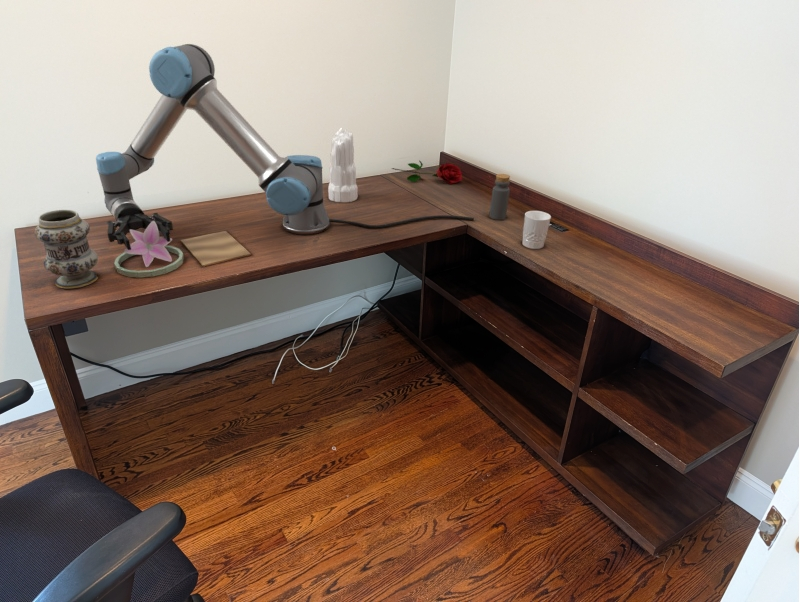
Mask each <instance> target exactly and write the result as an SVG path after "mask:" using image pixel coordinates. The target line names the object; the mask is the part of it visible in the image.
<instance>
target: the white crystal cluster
mask: <svg viewBox="0 0 800 602" xmlns="http://www.w3.org/2000/svg"><path fill="white" fill-rule="evenodd" d="M331 139H332V140H331V150H330V165H329V183H328V187H327V188H328V189H327V191H328V200H330V201H331V202H335V203H342V204H343V203H352V202H354V201H356V200H357V199H358V195H359V193H358V192H359V191H358V189H359V187H358V184H357V169H356V165H355V149H354V146H355V145H354V136H353V133H352V132H349V131H348V130H347V129H343V127H340V128H339V129H338V130H337V131H336V132H335V133H334V134H333V137H332V138H331Z"/></svg>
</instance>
